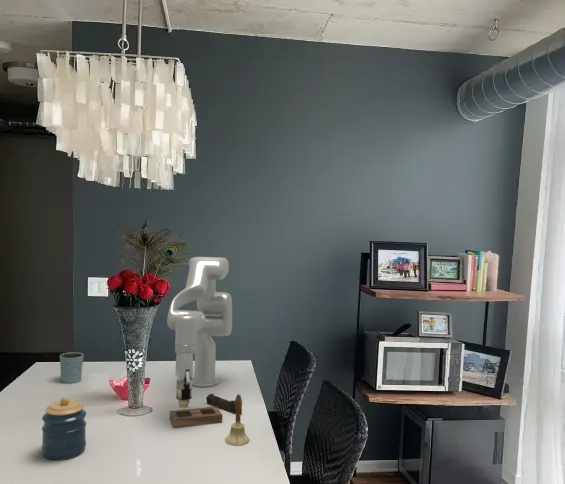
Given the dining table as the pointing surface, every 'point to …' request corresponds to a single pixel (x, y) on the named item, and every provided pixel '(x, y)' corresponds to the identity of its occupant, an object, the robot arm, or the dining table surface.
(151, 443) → the dining table surface
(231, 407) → the hand tool
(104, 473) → the dining table surface
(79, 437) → the canister
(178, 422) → the walnut board
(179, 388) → the oak peg
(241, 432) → the hand bell
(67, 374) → the grey embossed cup
